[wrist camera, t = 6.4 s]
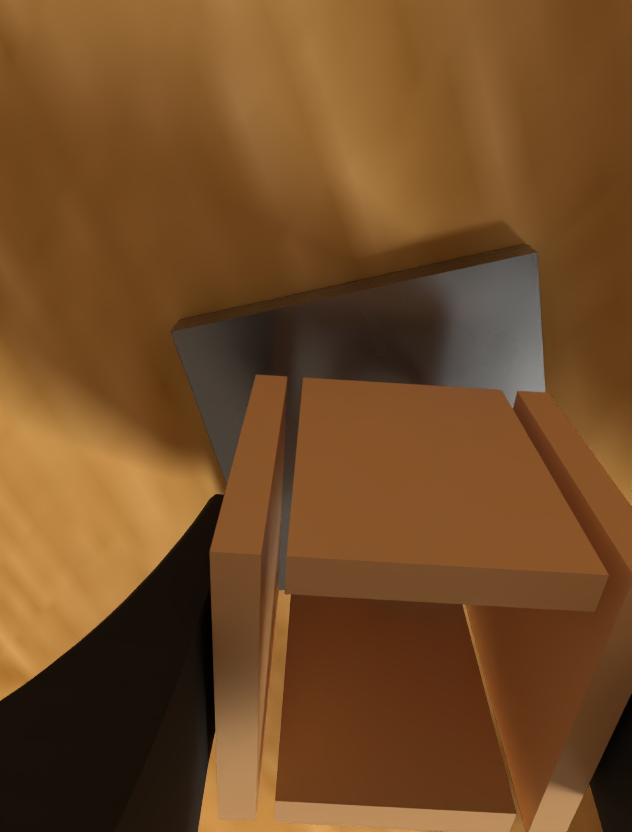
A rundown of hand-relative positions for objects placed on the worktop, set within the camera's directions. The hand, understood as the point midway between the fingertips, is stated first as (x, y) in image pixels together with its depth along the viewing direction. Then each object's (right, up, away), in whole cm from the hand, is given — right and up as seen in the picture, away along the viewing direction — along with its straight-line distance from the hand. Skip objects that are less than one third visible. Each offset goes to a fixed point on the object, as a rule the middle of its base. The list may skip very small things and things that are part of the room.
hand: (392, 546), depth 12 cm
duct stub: (0, +2, +4) cm, 4 cm away
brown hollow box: (0, +1, +1) cm, 1 cm away
